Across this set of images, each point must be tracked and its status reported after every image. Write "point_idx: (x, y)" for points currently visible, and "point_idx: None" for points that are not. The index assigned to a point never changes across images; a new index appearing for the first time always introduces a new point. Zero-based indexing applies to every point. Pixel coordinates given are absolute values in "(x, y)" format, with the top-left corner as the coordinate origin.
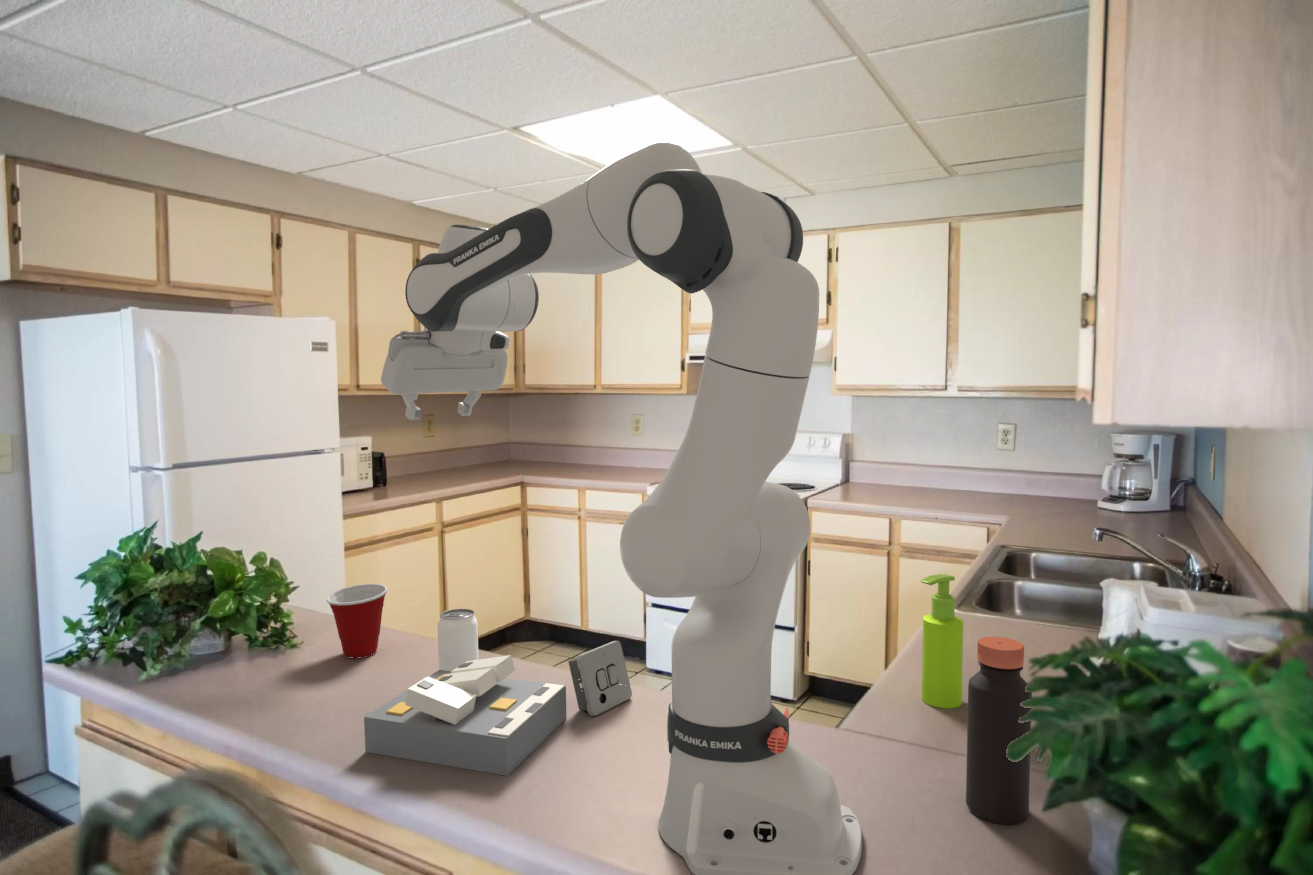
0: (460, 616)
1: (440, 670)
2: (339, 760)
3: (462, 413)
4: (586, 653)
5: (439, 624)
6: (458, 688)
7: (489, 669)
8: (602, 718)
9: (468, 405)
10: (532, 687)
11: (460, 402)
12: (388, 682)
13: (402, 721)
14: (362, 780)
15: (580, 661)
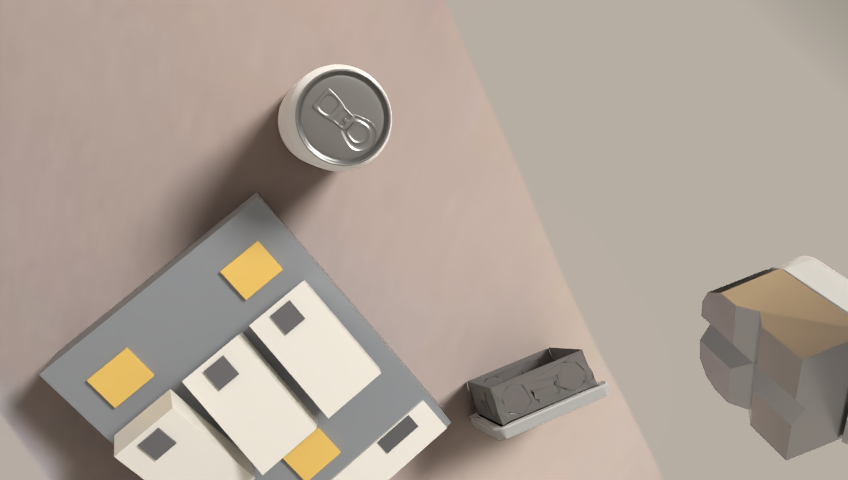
0: (347, 133)
1: (258, 202)
2: (4, 361)
3: (717, 377)
4: (519, 433)
5: (289, 118)
6: (227, 454)
7: (307, 431)
8: (483, 432)
9: (845, 424)
10: (393, 400)
11: (822, 354)
12: (177, 14)
13: (109, 434)
14: (33, 456)
15: (497, 438)
